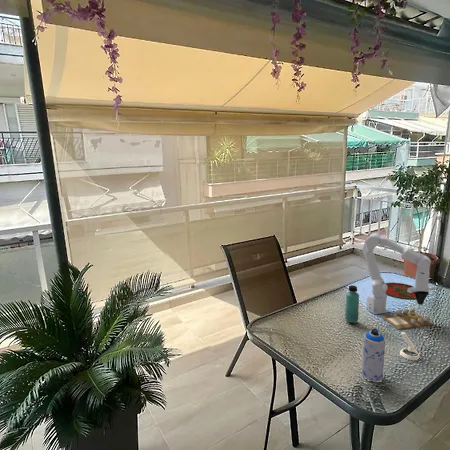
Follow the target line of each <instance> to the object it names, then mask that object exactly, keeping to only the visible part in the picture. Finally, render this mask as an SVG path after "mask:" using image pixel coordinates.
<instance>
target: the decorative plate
mask: <svg viewBox="0 0 450 450" xmlns="http://www.w3.org/2000/svg"><path fill="white" fill-rule="evenodd" d="M385 283H386V284H387V286H388V289H387V291H386V292H385V293H386V295H387V297H392V298H395V299H399V300H405V301H406V300H408V301H412V300H417V299H416V296H415V294H414V292H412V293H409V292H407V289H408V288H411V287H413V285H411V284H407V283H403V282H385Z"/></svg>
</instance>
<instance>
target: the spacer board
mask: <svg viewBox="0 0 450 450" xmlns="http://www.w3.org/2000/svg"><path fill="white" fill-rule="evenodd" d="M409 312H411V313H416V314H417V315H419V316H418V320H417V321H416V319H411V320H409V319H408V318H407V314H408V313H409ZM381 319H383V320H384V321H386V322H387V323H389V325H391V326H393V327H394V328H395V329H397V330H406V329H411V328H413V329H414V328H420V327H425V326H426V325H427V326H431V325H432V326H433V325H434V323H433V322H432V321H431V317H428V316H425V317H424V316H423V315H420V314H419V313H417V312H416V311H415V308H413V307H410V308H409V309H407V308H403V312H402V310H401V309H397V310H396V314H389V315H382V316H381Z"/></svg>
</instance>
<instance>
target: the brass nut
mask: <svg viewBox="0 0 450 450" xmlns="http://www.w3.org/2000/svg"><path fill="white" fill-rule="evenodd" d="M416 313H417V312H415V313H411V312H410V311H408V314H407V318H408V319H409V320H411V319H416V321H417V320H418V316H419V315H420V314H419V315H417V314H418V313H417V314H416Z"/></svg>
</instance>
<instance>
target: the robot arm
mask: <svg viewBox="0 0 450 450" xmlns="http://www.w3.org/2000/svg"><path fill="white" fill-rule="evenodd" d="M377 246H379V247H387V248H389V249H392V250H393V251H395V252H397V253H400V254H401V257H402V258H403V259H405V260H406V261H409V262H411V263H412V264H414V265H416V270H415V281H414V286H413V285H412V286H413V287H411V288H408V289H407V292H409V293H412V292H414V294H415V296H416V299H415V300H416V304H418V305H419V306H422V305H423V304H424V302H425V300H426V298H428V296H429V294H430V291H436V286H434V285H432V284H431V285H429V281H430V267H431V263H432V261H431V259H430V257H429V256H427V255H425V254H423V253H419V252H417V251H415V249H414V248H412V247H411V248H409V247H406V248H405V247H403V246H401V245H400V244H399V243H397V242H395V241H393V240H392V239H390V238H388V237H387V236H385V235H384V234H381V233H380V232H372V233H371V234H370V235H369V236H368V237H366V239H365V241H364V244H363V247H362V249H361V250H362V253H363V256H364V259H365V263H366V266H367V269H368V272H369V275H370V279H371V287H372V290H371V292H372V294H371V295H370V296H367V298H366V307H365V309H366V310H367V311H369V312H371V313H372V314H373V315H378V314H387V313H390V311H389V310H388V309H387V297H388V295H386V293H385V292H386V291H387V289H388V286H387V284H386V283H387V282H385V279H383V277H382V276H381V272H380V269H379V266H378V263H377V259H376V256H375V254H374V249H375V248H376V247H377Z"/></svg>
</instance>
